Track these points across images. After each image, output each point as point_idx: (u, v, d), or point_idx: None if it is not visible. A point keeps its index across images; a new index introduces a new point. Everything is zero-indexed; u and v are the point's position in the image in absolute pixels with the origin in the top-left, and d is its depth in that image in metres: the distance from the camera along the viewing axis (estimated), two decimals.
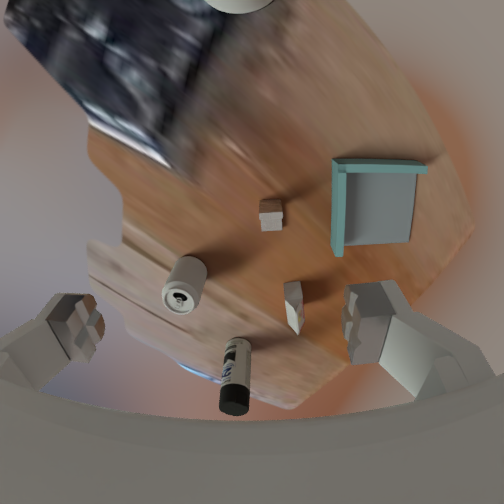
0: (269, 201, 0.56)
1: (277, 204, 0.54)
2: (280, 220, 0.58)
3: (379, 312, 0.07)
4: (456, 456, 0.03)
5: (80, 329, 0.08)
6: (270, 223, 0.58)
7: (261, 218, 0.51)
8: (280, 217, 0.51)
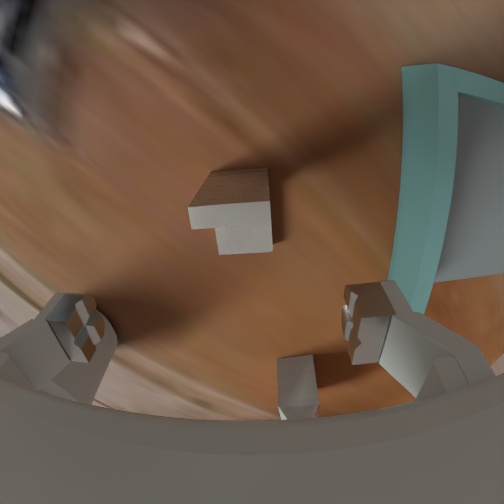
0: (235, 173, 0.19)
1: (256, 180, 0.18)
2: (268, 226, 0.21)
3: (379, 312, 0.07)
4: (456, 456, 0.03)
5: (80, 329, 0.08)
6: (241, 235, 0.22)
7: (198, 224, 0.15)
8: (261, 222, 0.15)
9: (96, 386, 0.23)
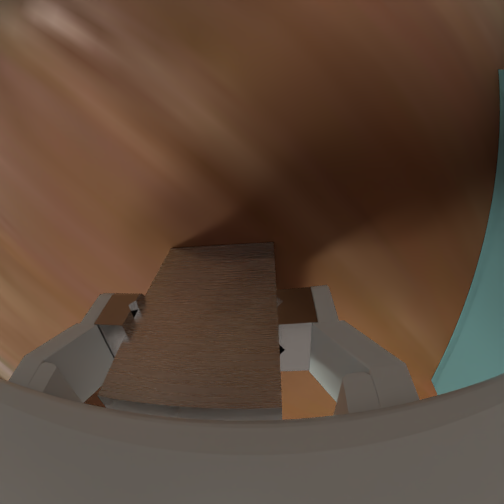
0: (213, 260, 0.10)
1: (251, 292, 0.09)
2: None
3: (300, 319, 0.07)
4: (456, 456, 0.03)
5: None
6: None
7: None
8: None
9: None
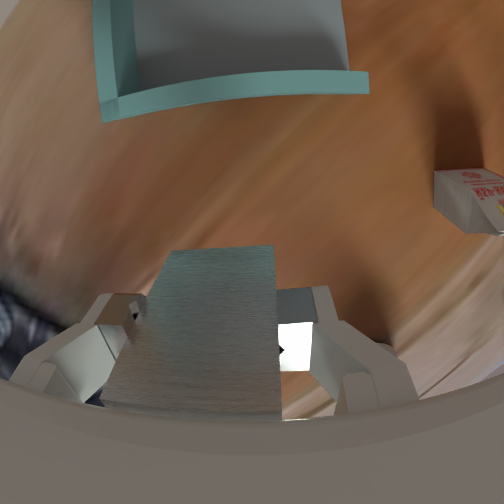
0: (213, 263, 0.10)
1: (252, 295, 0.09)
2: None
3: (300, 319, 0.07)
4: (456, 456, 0.03)
5: None
6: None
7: None
8: None
9: None
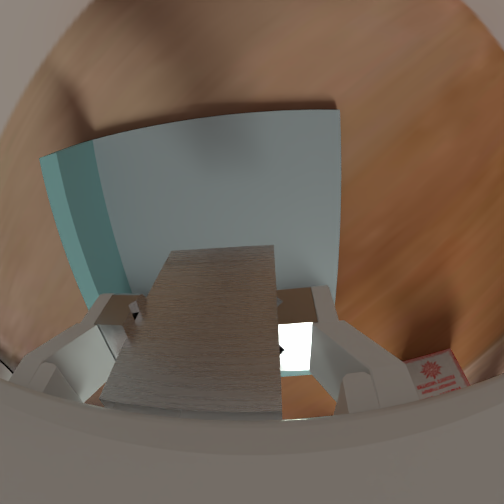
0: (213, 263, 0.10)
1: (252, 295, 0.09)
2: None
3: (300, 319, 0.07)
4: (456, 456, 0.03)
5: None
6: None
7: None
8: None
9: None
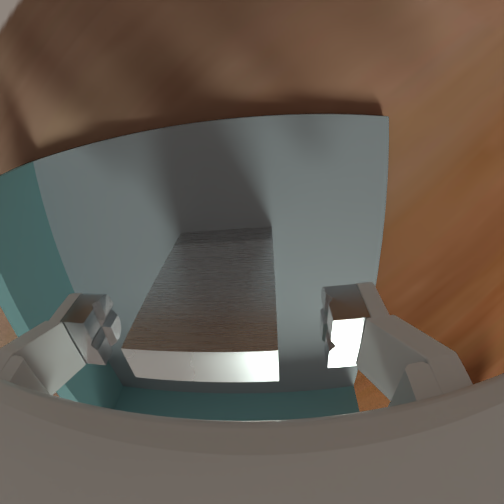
0: (219, 241, 0.12)
1: (253, 265, 0.10)
2: None
3: (353, 315, 0.07)
4: (456, 456, 0.03)
5: (97, 330, 0.08)
6: None
7: (144, 372, 0.07)
8: (259, 379, 0.07)
9: None
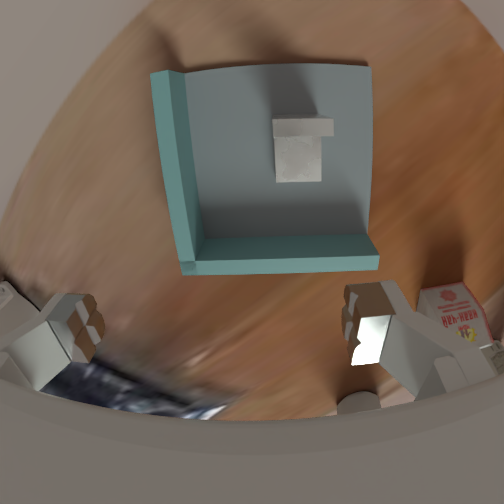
0: (295, 114, 0.23)
1: (315, 115, 0.21)
2: (318, 159, 0.25)
3: (379, 312, 0.07)
4: (456, 456, 0.03)
5: (80, 329, 0.08)
6: (296, 165, 0.25)
7: (278, 132, 0.18)
8: (326, 134, 0.18)
9: None
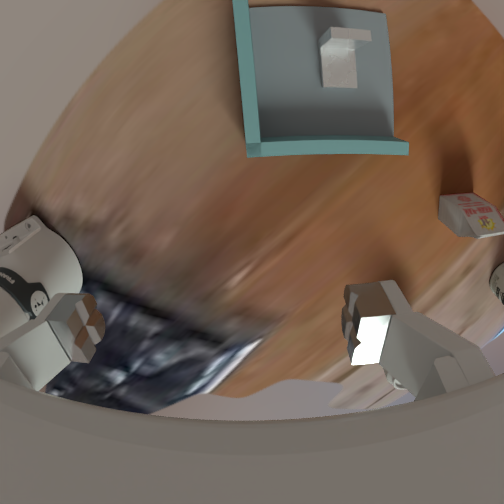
0: None
1: None
2: (354, 71, 0.28)
3: (379, 312, 0.07)
4: (456, 456, 0.03)
5: (80, 329, 0.08)
6: (338, 75, 0.28)
7: (335, 35, 0.21)
8: (366, 39, 0.21)
9: None
